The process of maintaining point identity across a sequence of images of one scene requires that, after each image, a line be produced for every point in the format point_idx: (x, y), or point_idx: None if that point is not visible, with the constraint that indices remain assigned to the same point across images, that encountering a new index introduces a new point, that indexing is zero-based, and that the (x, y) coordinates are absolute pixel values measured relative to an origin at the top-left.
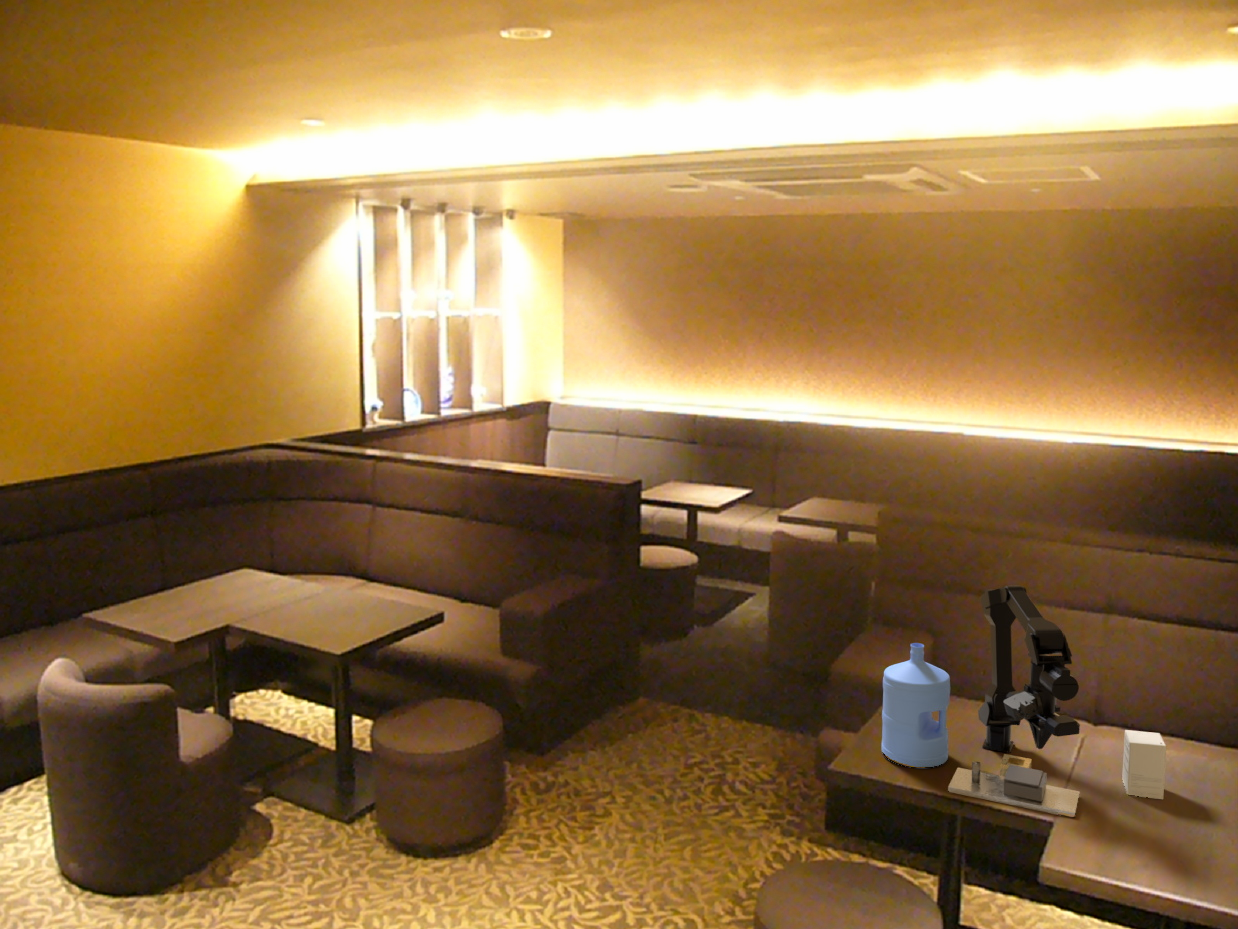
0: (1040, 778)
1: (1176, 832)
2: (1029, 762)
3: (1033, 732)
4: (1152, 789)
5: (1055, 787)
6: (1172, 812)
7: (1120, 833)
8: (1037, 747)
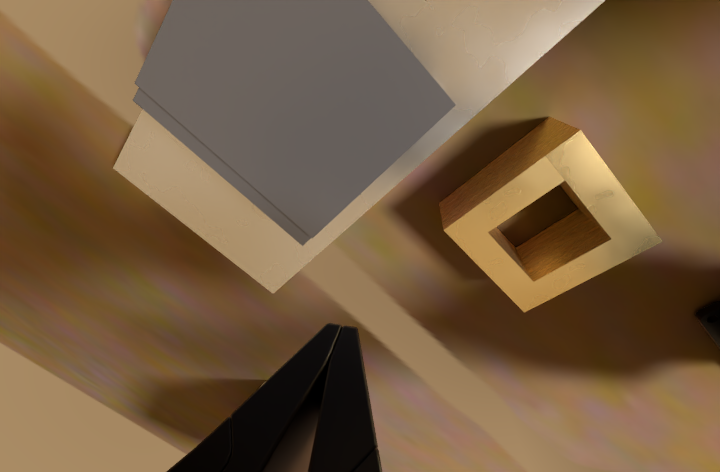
0: (225, 162)
1: (87, 338)
2: (501, 283)
3: (340, 460)
4: None
5: (316, 245)
6: (181, 392)
7: (53, 225)
8: (335, 329)
